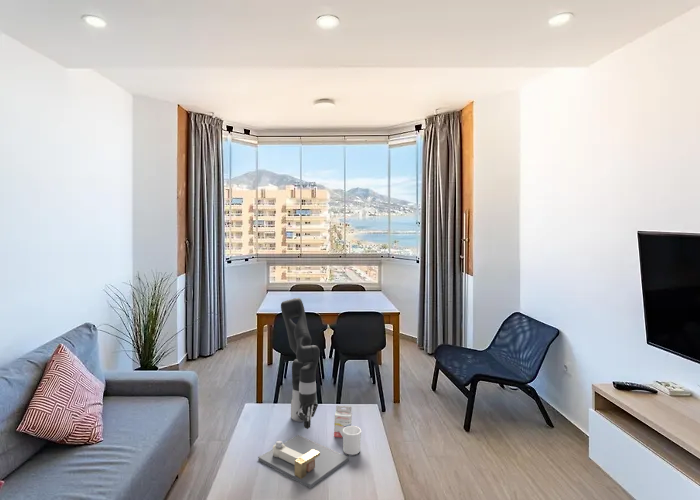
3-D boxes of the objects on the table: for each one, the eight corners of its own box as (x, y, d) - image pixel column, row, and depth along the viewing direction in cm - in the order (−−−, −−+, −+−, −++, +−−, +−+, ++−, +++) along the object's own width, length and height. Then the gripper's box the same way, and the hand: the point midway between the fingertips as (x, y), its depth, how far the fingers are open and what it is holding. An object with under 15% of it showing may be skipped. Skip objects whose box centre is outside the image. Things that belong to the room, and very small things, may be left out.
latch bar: (270, 454, 188) (270, 443, 188) (279, 449, 193) (279, 438, 192) (307, 472, 175) (307, 460, 175) (316, 466, 180) (316, 454, 179)
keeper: (294, 478, 174) (294, 460, 173) (312, 466, 183) (313, 449, 183) (301, 482, 171) (301, 463, 171) (319, 469, 181) (319, 452, 180)
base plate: (258, 460, 187) (258, 457, 187) (298, 437, 208) (298, 434, 208) (310, 488, 168) (310, 484, 168) (348, 460, 189) (348, 457, 188)
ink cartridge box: (333, 437, 209) (334, 409, 208) (335, 432, 214) (335, 405, 213) (350, 438, 208) (351, 410, 207) (351, 433, 213) (352, 406, 212)
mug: (359, 457, 191) (359, 436, 191) (340, 455, 193) (340, 433, 192) (363, 445, 202) (363, 425, 201) (345, 443, 204) (345, 423, 203)
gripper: (310, 383, 190) (310, 419, 191) (291, 393, 179) (290, 431, 180) (323, 387, 186) (322, 424, 187) (304, 397, 175) (304, 436, 176)
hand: (307, 427), depth 183 cm, fingers closed
